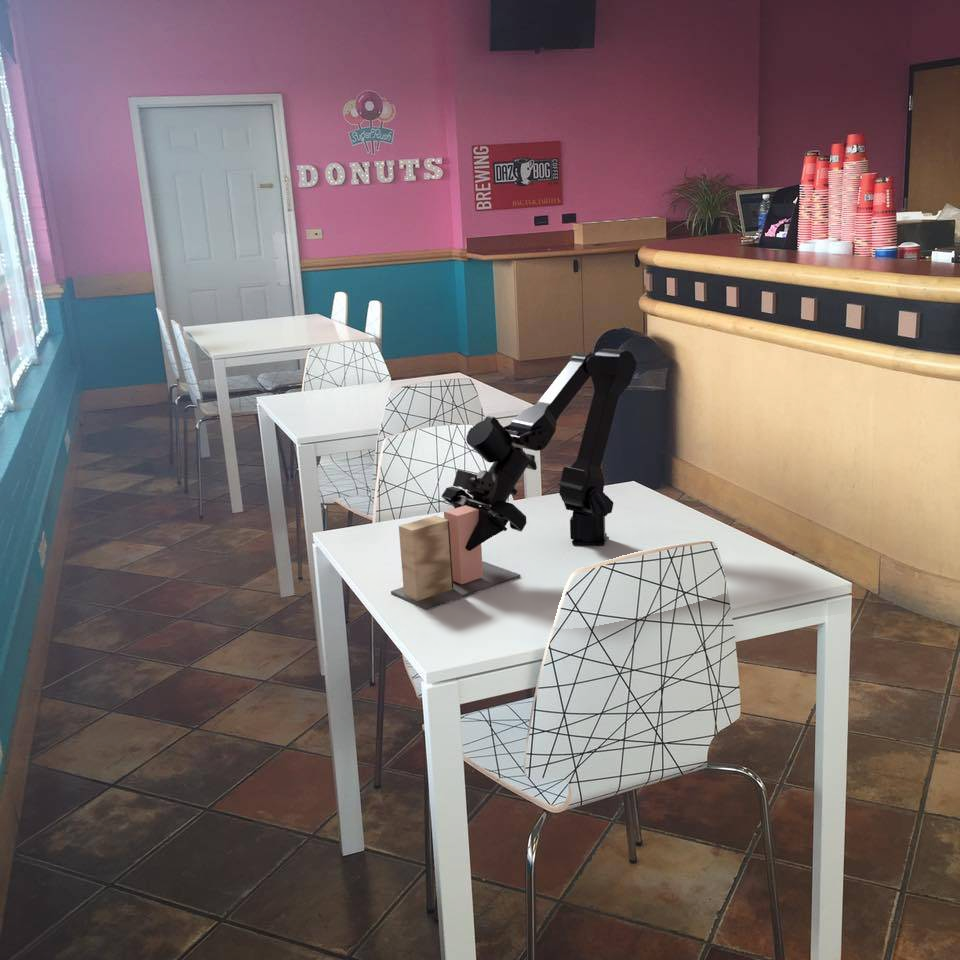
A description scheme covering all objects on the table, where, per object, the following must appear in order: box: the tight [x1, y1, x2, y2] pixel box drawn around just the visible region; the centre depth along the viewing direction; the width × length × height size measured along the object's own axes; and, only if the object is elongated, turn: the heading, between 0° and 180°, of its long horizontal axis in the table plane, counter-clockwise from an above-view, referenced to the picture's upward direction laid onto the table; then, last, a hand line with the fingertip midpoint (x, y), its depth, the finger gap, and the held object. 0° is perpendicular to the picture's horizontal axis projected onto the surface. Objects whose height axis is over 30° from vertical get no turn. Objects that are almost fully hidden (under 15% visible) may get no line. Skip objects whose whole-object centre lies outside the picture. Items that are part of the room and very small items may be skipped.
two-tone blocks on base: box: [390, 515, 522, 611], centre depth 187 cm, size 22×11×14 cm, turn 129°
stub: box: [443, 505, 483, 584], centre depth 188 cm, size 5×4×13 cm
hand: (459, 547), depth 187 cm, fingers closed on stub, 4 cm apart
